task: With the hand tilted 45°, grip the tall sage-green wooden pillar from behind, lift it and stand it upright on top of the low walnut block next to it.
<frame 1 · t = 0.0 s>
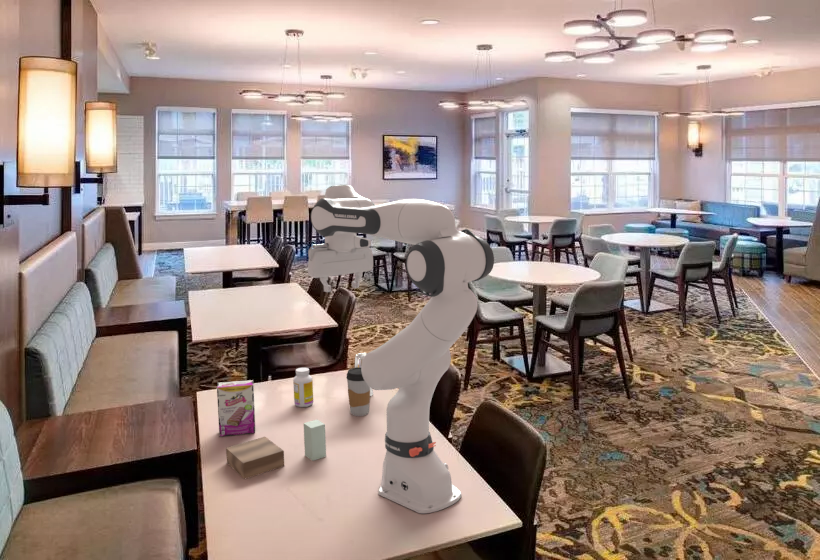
hand: (341, 289, 184), 48 cm above the table, tool pointing down, fingers open, 8 cm apart
sage pillar: (315, 455, 185), on the table
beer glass: (365, 395, 234), on the table
supplement bottle: (304, 404, 225), on the table
walnut block: (255, 465, 180), on the table
coffee cup: (359, 413, 217), on the table
candy bar box: (238, 433, 202), on the table
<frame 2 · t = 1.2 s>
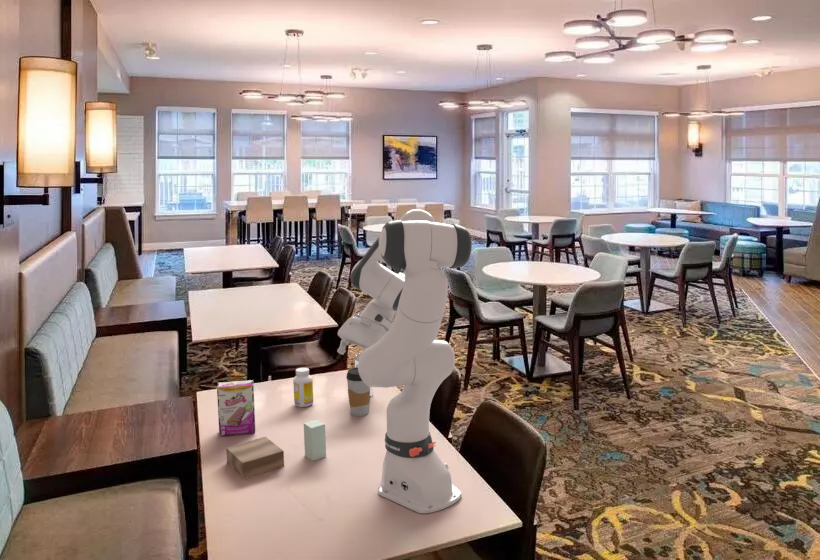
hand: (348, 357, 188), 28 cm above the table, tool tilted 45°, fingers open, 8 cm apart
nothing on the table moved.
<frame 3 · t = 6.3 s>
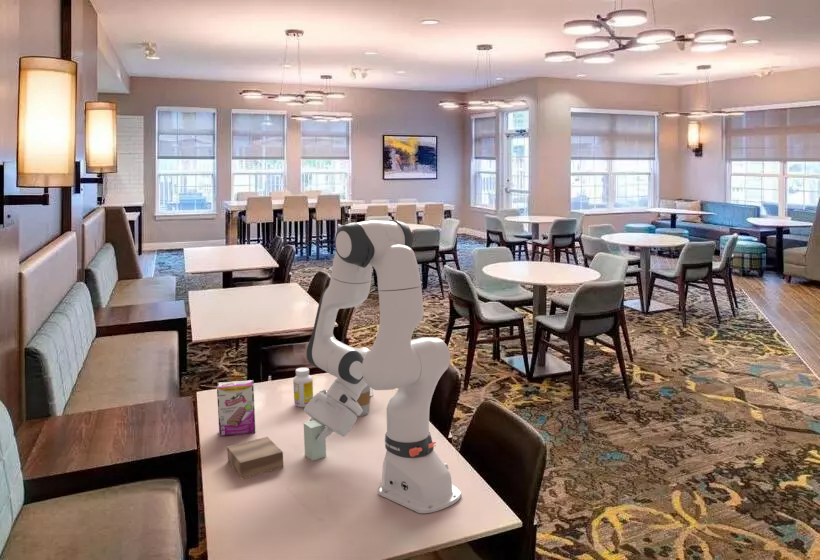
hand: (312, 437, 184), 6 cm above the table, tool tilted 45°, fingers closed on sage pillar, 4 cm apart
sage pillar: (315, 455, 185), on the table, touching gripper
everything else where it was.
when the fingers open (12 cm above the table, at t = 12.5 s): sage pillar drops 2 cm, point 5 cm above the table.
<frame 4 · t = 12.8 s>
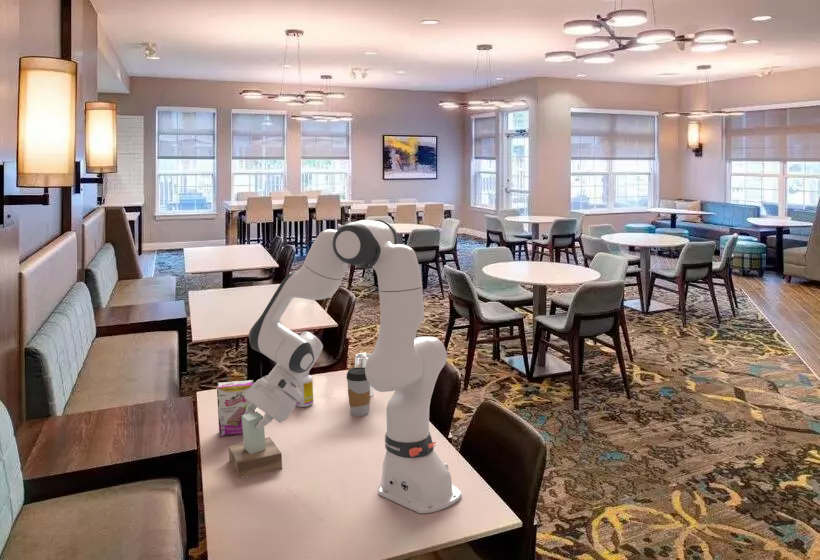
hand: (251, 424, 178), 12 cm above the table, tool tilted 45°, fingers open, 7 cm apart
sage pillar: (254, 449, 179), point 5 cm above the table
everything else where it was.
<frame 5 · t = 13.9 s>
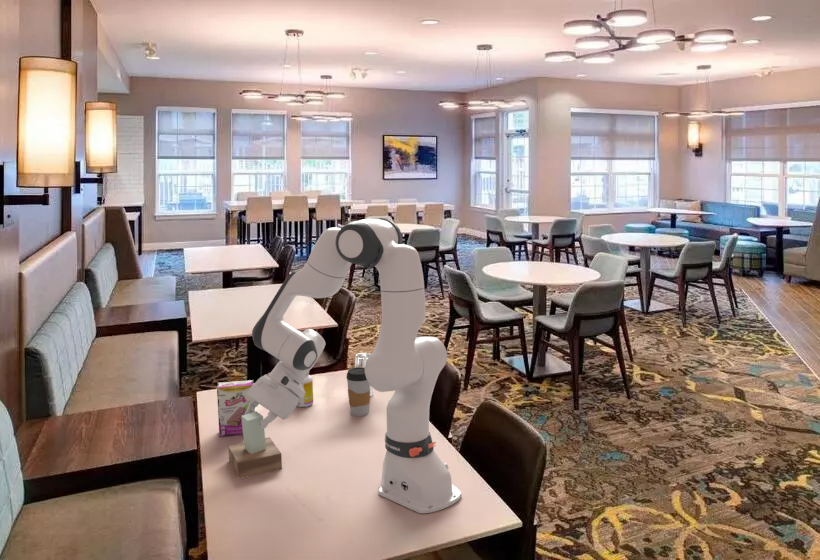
hand: (254, 421, 178), 13 cm above the table, tool tilted 45°, fingers open, 8 cm apart
sage pillar: (255, 448, 180), point 5 cm above the table, touching walnut block
walnut block: (255, 465, 180), on the table, touching sage pillar
everything else where it was.
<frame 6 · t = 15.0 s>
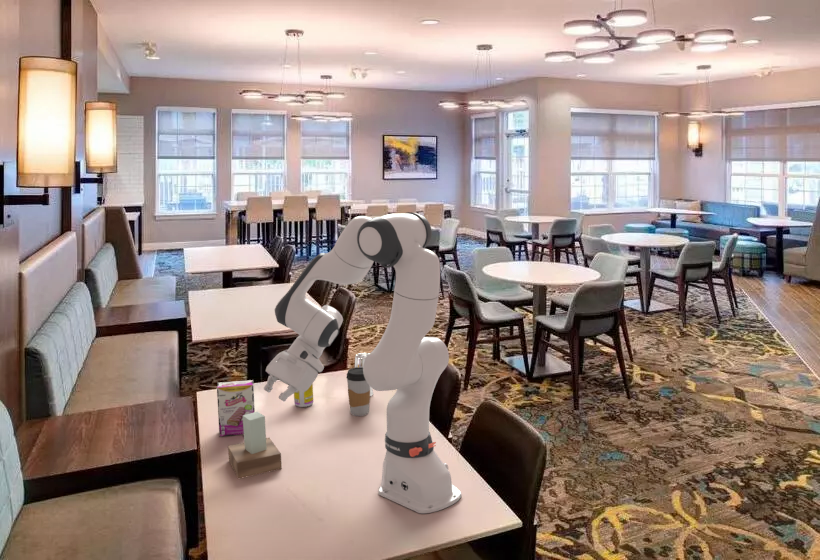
hand: (273, 395, 180), 19 cm above the table, tool tilted 45°, fingers open, 8 cm apart
nothing on the table moved.
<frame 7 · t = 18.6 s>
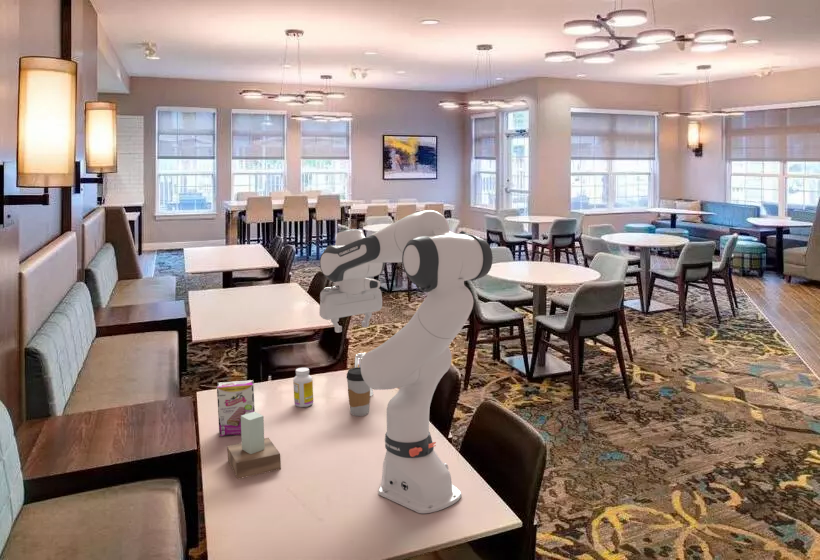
hand: (352, 329, 190), 35 cm above the table, tool pointing down, fingers open, 8 cm apart
at the end: sage pillar inside the target area on the walnut block (0.2 cm from its centre), point 5.1 cm above the walnut block's base; sage pillar tilted 1°; the gripper is holding nothing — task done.
